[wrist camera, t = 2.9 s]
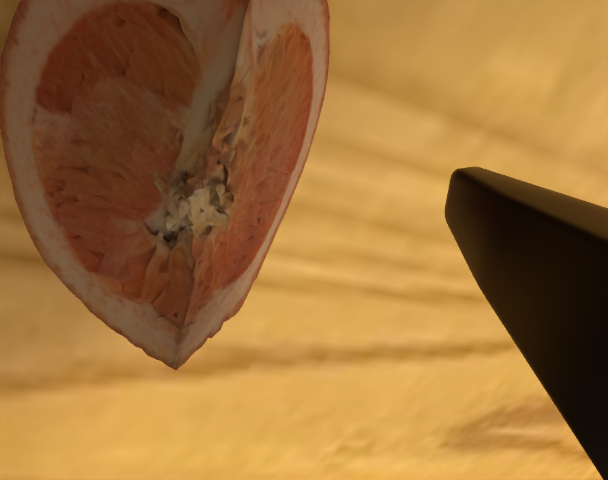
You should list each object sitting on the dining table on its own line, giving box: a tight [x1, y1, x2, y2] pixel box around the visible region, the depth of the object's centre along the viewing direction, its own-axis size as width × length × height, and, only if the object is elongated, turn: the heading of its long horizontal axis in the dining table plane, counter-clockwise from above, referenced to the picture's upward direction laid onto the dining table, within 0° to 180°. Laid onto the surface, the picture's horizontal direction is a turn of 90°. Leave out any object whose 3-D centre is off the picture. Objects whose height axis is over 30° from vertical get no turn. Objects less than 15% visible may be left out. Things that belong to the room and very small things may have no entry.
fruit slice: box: [0, 0, 330, 370], centre depth 12 cm, size 8×7×5 cm
